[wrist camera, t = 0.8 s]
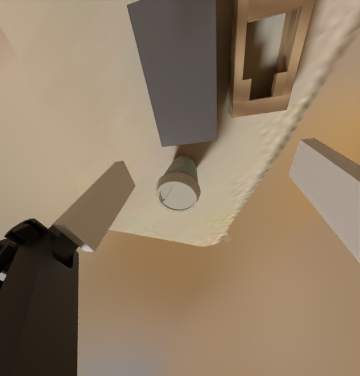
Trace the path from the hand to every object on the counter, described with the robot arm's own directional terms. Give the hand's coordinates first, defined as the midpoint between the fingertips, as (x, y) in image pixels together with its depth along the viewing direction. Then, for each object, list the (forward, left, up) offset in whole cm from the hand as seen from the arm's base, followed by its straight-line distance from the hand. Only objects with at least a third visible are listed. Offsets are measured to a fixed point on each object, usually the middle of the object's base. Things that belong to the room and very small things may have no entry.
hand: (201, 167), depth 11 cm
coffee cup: (+11, -5, -21) cm, 24 cm away
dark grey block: (-5, -2, -20) cm, 21 cm away
